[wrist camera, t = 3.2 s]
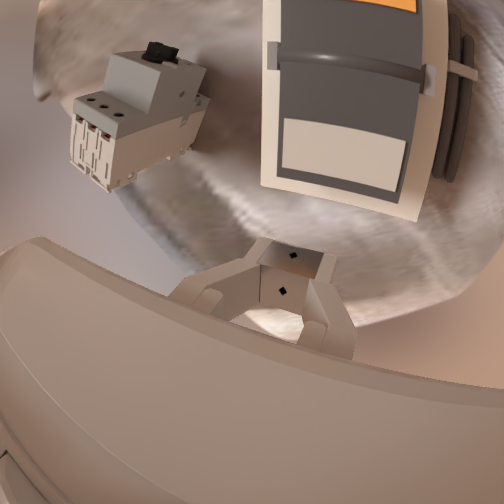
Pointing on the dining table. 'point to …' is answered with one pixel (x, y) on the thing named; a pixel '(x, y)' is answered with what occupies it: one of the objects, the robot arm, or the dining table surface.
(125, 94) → the circuit breaker
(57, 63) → the dining table surface
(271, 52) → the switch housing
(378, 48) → the block
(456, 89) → the dark grey piece
